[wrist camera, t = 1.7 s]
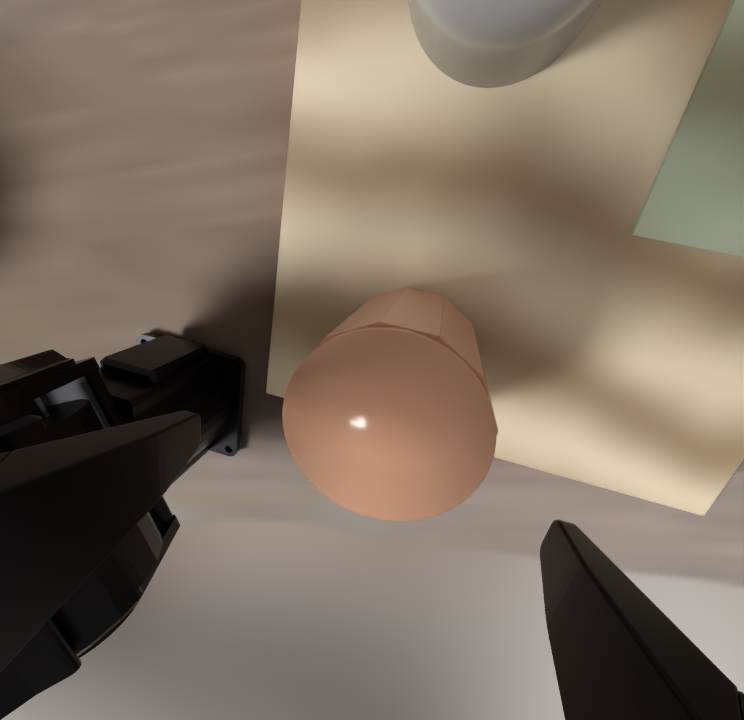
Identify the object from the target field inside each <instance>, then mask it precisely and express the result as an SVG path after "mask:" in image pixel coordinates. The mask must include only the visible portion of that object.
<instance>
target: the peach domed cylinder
mask: <svg viewBox="0 0 744 720" xmlns="http://www.w3.org/2000/svg"><path fill="white" fill-rule="evenodd" d="M282 421H283V430H284V434H285V439H286V442H287V445H288V448H289V450H290V453H291V455H292V457H293V459H294V461H295V462H296V464H297V466H298V467H299V469H300V470H301V472H302V473H303V474H304V475H305V477H306V478H307V479H308V480H309V481H310V482H311V483H312V484H313V485H314V486H315V487H316V488H317V489H318V490H319V491H320V492H321V493H323V494H324V495H325V496H327V497H328V498H329V499H331V500H332V501H334V502H335V503H337V504H339V505H340V506H342V507H344V508H346V509H348V510H351V511H353V512H356V513H358V514H361V515H364V516H367V517H371V518H375V519H381V520H387V521H414V520H420V519H426V518H430V517H433V516H436V515H439V514H442V513H444V512H446V511H449V510H451V509H452V508H454V507H456V506H457V505H459V504H461V503H462V502H463V501H464V500H466V499H467V498H468V497H469V496H470V495H471V494H472V493H473V492H474V491H475V490H476V489H477V488H478V487H479V485H480V484H481V483H482V481H483V480H484V478H485V477H486V475H487V473H488V471H489V468H490V466H491V464H492V460H493V457H494V454H495V447H496V436H497V434H498V427H497V423H496V418H495V414H494V410H493V405H492V401H491V396H490V392H489V388H488V383H487V379H486V375H485V370H484V366H483V362H482V357H481V354H480V350H479V346H478V342H477V338H476V334H475V331H474V327H473V323H472V322H471V321H470V320H469V319H468V318H467V317H466V316H465V315H464V314H463V313H462V312H461V311H460V310H459V309H458V308H457V307H456V306H454V305H453V304H452V303H451V302H450V301H449V300H448V299H447V298H446V297H445V296H442V295H438V294H434V293H429V292H425V291H421V290H416V289H412V288H408V287H406V288H402V289H399V290H396V291H393V292H390V293H386V294H383V295H380V296H377V297H374V298H371V299H370V300H368V301H367V302H366V303H365V304H364V305H362V306H361V307H360V308H359V309H358V310H357V311H355V312H354V313H353V314H352V315H351V316H349V317H348V318H347V319H346V320H345V321H344V322H342V323H341V324H340V325H339V326H338V327H337V328H335V329H334V330H333V331H332V332H331V333H329V334H328V335H327V336H326V337H325V338H324V339H323V340H322V341H321V342H320V344H319V345H318V346H317V347H316V348H315V349H314V351H313V352H312V353H311V354H310V355H309V356H308V357H307V358H306V359H305V360H304V361H303V362H302V363H301V364H300V365H299V367H298V368H297V370H296V371H295V372H294V374H293V375H292V378H291V380H290V382H289V384H288V387H287V390H286V393H285V396H284V402H283V411H282Z"/></svg>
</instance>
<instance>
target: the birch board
mask: <svg viewBox="0 0 744 720" xmlns="http://www.w3.org/2000/svg"><path fill="white" fill-rule="evenodd" d="M406 287H408V288H412V289H416V290H421V291H425V292H429V293H434V294H438V295H442V296H445V297H446V298H447V299H448V300H449V301H450V302H451V303H452V304H453V305H454V306H456V307H457V308H458V309H459V310H460V311H461V312H462V313H463V314H464V315H465V316H466V317H467V318H468V319H469V320H470V321H471V322H472V323H473V327H474V331H475V334H476V338H477V342H478V346H479V350H480V354H481V357H482V362H483V366H484V370H485V375H486V379H487V383H488V388H489V392H490V396H491V401H492V405H493V410H494V414H495V418H496V423H497V427H498V434H497V436H496V447H495V454H494V457H495V458H499V459H503V460H506V461H510V462H513V463H517V464H520V465H524V466H527V467H531V468H535V469H538V470H542V471H545V472H549V473H552V474H556V475H559V476H563V477H567V478H570V479H574V480H577V481H581V482H584V483H588V484H591V485H595V486H599V487H602V488H606V489H609V490H613V491H616V492H620V493H623V494H627V495H631V496H634V497H638V498H641V499H645V500H648V501H652V502H656V503H659V504H663V505H666V506H670V507H673V508H677V509H680V510H684V511H688V512H691V513H695V514H698V515H702V516H704V515H705V513H706V512H707V510H708V509H709V508H710V506H711V505H712V503H713V502H714V500H715V499H716V498H717V496H718V495H719V493H720V492H721V490H722V489H723V488H724V486H725V485H726V483H727V482H728V481H729V479H730V478H731V476H732V475H733V473H734V472H735V471H736V469H737V468H738V466H739V465H740V464H741V462H742V461H743V459H744V0H601V1H600V3H599V5H598V6H597V8H596V9H595V11H594V12H593V14H592V15H591V17H590V18H589V20H588V21H587V23H586V24H585V26H584V28H583V29H582V31H581V32H580V33H579V35H578V36H577V37H576V38H575V40H574V41H573V42H572V44H571V45H570V46H569V47H568V48H567V49H566V50H565V51H564V52H563V53H562V54H561V55H560V56H559V57H558V58H557V59H556V60H554V61H553V62H552V63H551V64H550V65H548V66H547V67H545V68H544V69H543V70H541V71H540V72H538V73H537V74H535V75H533V76H531V77H529V78H527V79H525V80H523V81H520V82H517V83H515V84H512V85H507V86H503V87H496V88H480V87H473V86H469V85H465V84H462V83H460V82H457V81H455V80H453V79H452V78H450V77H448V76H447V75H445V74H444V73H443V72H442V71H440V70H439V69H438V68H437V67H436V66H435V65H434V64H433V63H432V61H431V60H430V59H429V58H428V57H427V55H426V53H425V52H424V50H423V49H422V47H421V45H420V43H419V41H418V38H417V36H416V34H415V30H414V27H413V24H412V20H411V15H410V10H409V5H408V0H302V2H301V13H300V24H299V35H298V46H297V57H296V68H295V79H294V90H293V101H292V112H291V123H290V134H289V145H288V156H287V167H286V178H285V189H284V200H283V211H282V223H281V234H280V245H279V256H278V267H277V278H276V289H275V300H274V311H273V322H272V333H271V344H270V355H269V366H268V377H267V388H266V393H268V394H271V395H275V396H278V397H282V398H284V396H285V393H286V390H287V387H288V384H289V382H290V380H291V378H292V375H293V374H294V372H295V371H296V370H297V368H298V367H299V365H300V364H301V363H302V362H303V361H304V360H305V359H306V358H307V357H308V356H309V355H310V354H311V353H312V352H313V351H314V349H315V348H316V347H317V346H318V345H319V344H320V342H321V341H322V340H323V339H324V338H325V337H326V336H327V335H328V334H329V333H331V332H332V331H333V330H334V329H335V328H337V327H338V326H339V325H340V324H341V323H342V322H344V321H345V320H346V319H347V318H348V317H349V316H351V315H352V314H353V313H354V312H355V311H357V310H358V309H359V308H360V307H361V306H362V305H364V304H365V303H366V302H367V301H368V300H370V299H371V298H374V297H377V296H380V295H383V294H386V293H390V292H393V291H396V290H399V289H402V288H406Z"/></svg>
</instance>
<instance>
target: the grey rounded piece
mask: <svg viewBox="0 0 744 720" xmlns="http://www.w3.org/2000/svg"><path fill="white" fill-rule="evenodd" d="M600 1H601V0H408V5H409V10H410V15H411V20H412V24H413V27H414V30H415V34H416V36H417V38H418V41H419V43H420V45H421V47H422V49H423V50H424V52H425V53H426V55H427V57H428V58H429V59H430V60H431V61H432V63H433V64H434V65H435V66H436V67H437V68H438V69H439V70H440V71H442V72H443V73H444V74H445V75H447V76H448V77H450V78H452V79H453V80H455V81H457V82H460V83H462V84H465V85H469V86H473V87H480V88H496V87H503V86H507V85H512V84H515V83H517V82H520V81H523V80H525V79H527V78H529V77H531V76H533V75H535V74H537V73H538V72H540V71H541V70H543V69H544V68H545V67H547V66H548V65H550V64H551V63H552V62H553V61H554V60H556V59H557V58H558V57H559V56H560V55H561V54H562V53H563V52H564V51H565V50H566V49H567V48H568V47H569V46H570V45H571V44H572V42H573V41H574V40H575V38H576V37H577V36H578V35H579V33H580V32H581V31H582V29H583V28H584V26H585V24H586V23H587V21H588V20H589V18H590V17H591V15H592V14H593V12H594V11H595V9H596V8H597V6H598V5H599V3H600Z"/></svg>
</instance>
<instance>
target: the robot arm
mask: <svg viewBox="0 0 744 720" xmlns="http://www.w3.org/2000/svg"><path fill="white" fill-rule="evenodd" d="M146 340H147V342H146ZM100 363H101V367H99V365H98V363H97V362H96V360H95V358H94V357H92V358H88V359H84V360H80V361H76V362H75V361H74V359H70V358H68V359H67V358H65V357H64V356H62V355H61V354H59V353H57V352H56V351H54V350H49V351H45V352H41V353H38V354H35V355H31V356H28V357H25V358H21V359H18V360H15V361H11V362H8V363H5V364H1V365H0V720H1V719H2V718H4V717H5V716H7V715H8V714H9V713H11V712H12V711H14V710H15V709H16V708H18V707H19V706H21V705H22V704H24V703H25V702H27V701H28V700H29V699H31V698H32V697H34V696H35V695H37V694H38V693H40V692H42V691H44V690H45V689H47V688H49V687H51V686H53V685H54V684H56V683H58V682H60V681H62V680H63V679H65V678H67V677H69V676H71V675H72V674H73V673H75V672H76V671H77V670H78V669H79V668H80V666H81V660H80V659H79V658H80V657H82V656H83V655H85V654H86V653H88V652H89V651H91V650H92V649H93V648H95V647H96V646H98V645H99V644H100V643H101V642H102V641H104V640H105V639H106V638H107V637H109V636H110V635H111V634H112V633H113V632H114V631H115V630H116V629H117V628H118V627H119V626H120V625H121V624H122V623H123V622H124V621H125V619H126V618H127V617H128V616H129V615H130V614H131V612H132V611H133V609H134V608H135V606H136V605H137V604H138V602H139V601H140V599H141V597H142V595H143V593H144V591H145V589H146V588H147V586H148V584H149V582H150V580H151V578H152V577H153V575H154V573H155V571H156V569H157V567H158V565H159V564H160V562H161V560H162V558H163V556H164V554H165V553H166V551H167V549H168V547H169V545H170V543H171V541H172V540H173V538H174V536H175V534H176V532H177V531H178V529H179V527H180V524H179V522H178V520H177V518H176V516H175V515H172V513H171V511H170V509H169V507H168V505H167V503H166V501H165V500H164V498H163V494H164V493H165V492H166V491H167V489H168V488H169V487H170V485H171V484H172V483H173V482H175V481H176V480H177V479H178V478H179V477H180V476H181V475H182V474H183V473H184V472H186V471H187V470H188V469H189V468H190V467H191V466H192V465H193V464H194V463H195V462H197V461H198V460H199V459H200V458H201V457H202V456H203V455H204V454H205V453H206V452H208V451H209V450H211V451H214V452H217V453H221V454H224V455H227V456H234V455H235V454H236V453H237V452H238V451H239V449H240V437H241V421H242V405H243V390H244V374H245V364H244V362H243V360H242V359H241V358H239V357H236V356H233V355H229V354H225V353H221V352H218V351H214V350H210V349H208V348H207V347H206V346H205V345H202V344H199V343H195V342H191V341H188V340H184V339H180V338H176V337H173V336H169V335H163V336H159V335H155V334H151V333H145V334H142V335H139V336H138V338H137V345H136V346H133V347H131V348H128V349H125V350H123V351H120V352H117V353H114V354H112V355H109V356H106V357H105V358H103V359H102V360H101V361H100ZM233 363H234V364H235V365H236V366H237V369H235V368H234V367H233ZM229 446H230V447H231V448H232V449H231V448H230V447H229ZM540 561H541V571H542V582H543V593H544V604H545V614H546V622H547V629H548V634H549V640H550V645H551V650H552V655H553V660H554V665H555V670H556V675H557V680H558V685H559V690H560V695H561V700H562V705H563V711H564V716H565V720H744V694H743V693H742V692H740V691H738V690H737V687H736V686H735V685H734V684H733V683H732V682H731V681H730V680H729V679H728V678H727V677H726V676H725V675H724V674H723V673H722V672H721V671H720V670H719V669H718V668H717V667H716V666H715V665H714V664H713V663H712V662H711V661H710V660H709V659H708V658H707V657H706V656H705V655H704V654H703V653H702V652H701V651H700V650H699V648H698V647H696V646H695V645H694V643H692V642H691V640H690V639H689V638H688V637H686V636H685V635H684V633H682V631H680V629H678V627H676V625H675V624H674V623H673V622H672V621H671V620H670V619H669V618H668V617H667V616H666V615H664V613H663V612H662V611H661V610H660V609H659V608H658V607H656V605H655V604H654V603H653V602H652V601H651V600H650V599H649V598H648V597H647V596H646V595H645V594H644V593H643V592H642V591H641V590H640V589H639V588H638V587H637V586H636V585H635V584H634V583H633V582H632V581H631V580H630V579H629V578H628V577H627V576H626V575H625V574H624V573H623V572H622V571H621V570H620V569H619V568H618V567H617V566H616V565H615V564H614V563H613V562H612V561H611V560H610V559H609V558H608V557H607V556H606V555H605V554H604V553H603V552H602V551H601V550H600V549H599V548H598V547H597V546H596V545H595V544H594V543H593V542H592V541H591V540H590V539H589V538H588V537H587V536H586V535H585V534H584V533H583V532H582V531H581V530H580V529H579V528H578V527H577V526H576V525H574V524H572V523H569V522H566V521H562V520H555V521H553V523H552V524H551V526H550V528H549V530H548V532H547V534H546V536H545V538H544V540H543V542H542V545H541V548H540Z"/></svg>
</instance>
